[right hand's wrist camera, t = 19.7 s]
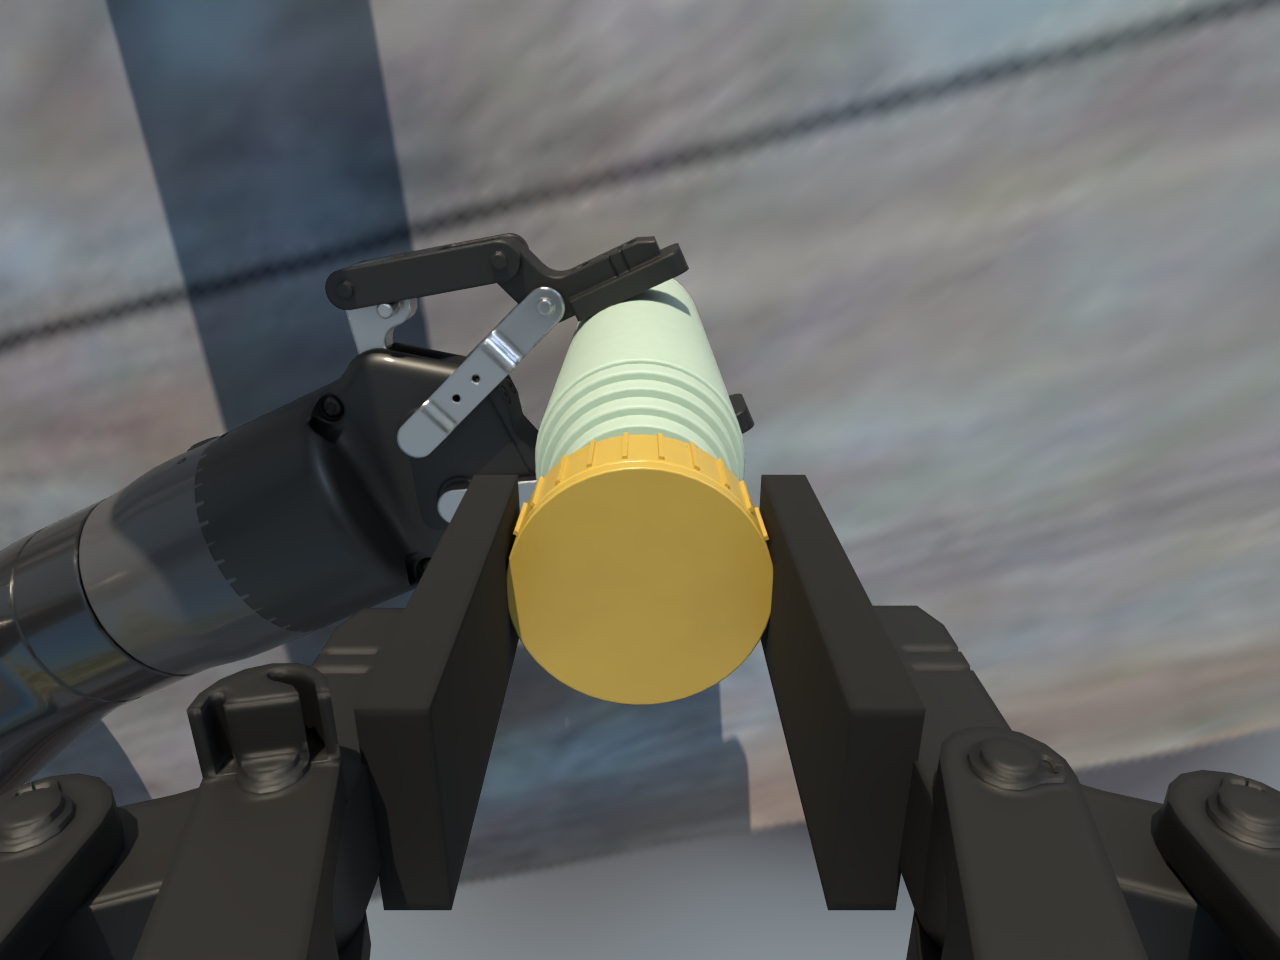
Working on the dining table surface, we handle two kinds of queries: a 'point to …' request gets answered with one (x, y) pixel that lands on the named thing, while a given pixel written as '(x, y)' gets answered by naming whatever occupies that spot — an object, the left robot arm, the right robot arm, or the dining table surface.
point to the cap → (639, 571)
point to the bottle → (641, 382)
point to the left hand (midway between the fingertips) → (713, 335)
